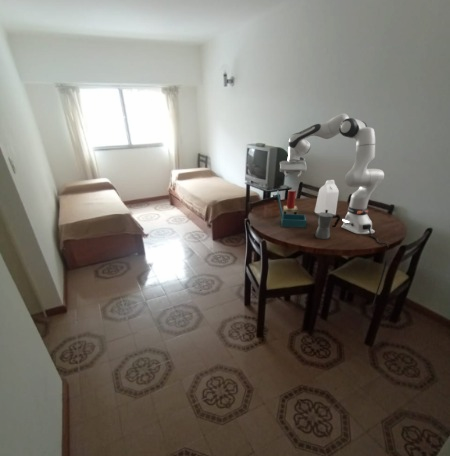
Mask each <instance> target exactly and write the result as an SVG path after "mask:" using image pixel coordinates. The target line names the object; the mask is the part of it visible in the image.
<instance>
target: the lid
mask: <svg viewBox="0 0 450 456" xmlns="http://www.w3.org/2000/svg"><path fill="white" fill-rule="evenodd" d="M271 199H272V200H275V199H277V201H278V207H279V213H280V217H281V220H282V219H283V214H284V211H283V207H282V203H281V202H282V201H281V197H280V192H279V190H277V191H276V194H272V195H271Z"/></svg>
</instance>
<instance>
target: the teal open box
mask: <svg viewBox="0 0 450 456" xmlns="http://www.w3.org/2000/svg"><path fill="white" fill-rule="evenodd" d="M306 217H307V216H306V214H299V213H297V214H294V213H293V214H292V213H286V214H284V213H283V219H282V218H281V227H286V228H287V227H288V228H306V227H307V218H306Z"/></svg>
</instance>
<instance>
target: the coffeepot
mask: <svg viewBox="0 0 450 456" xmlns="http://www.w3.org/2000/svg"><path fill="white" fill-rule="evenodd" d="M327 212H328V210H325V212H321V213H314V215H315V217H316V219H317V224H318V226H317V228H316V231H315V234H314V236H315V238H317V239H321V240H328V239H329V238H330V237H331V232H330V231H331V228H330V226H331V227H332V228H336V227H337V225H338V224H339V222H340V220H341V216H340V215H339V214H337V213H336V214H332V213H327ZM333 219H336V220H335V222H334V224H333V225H332V222H333Z"/></svg>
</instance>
